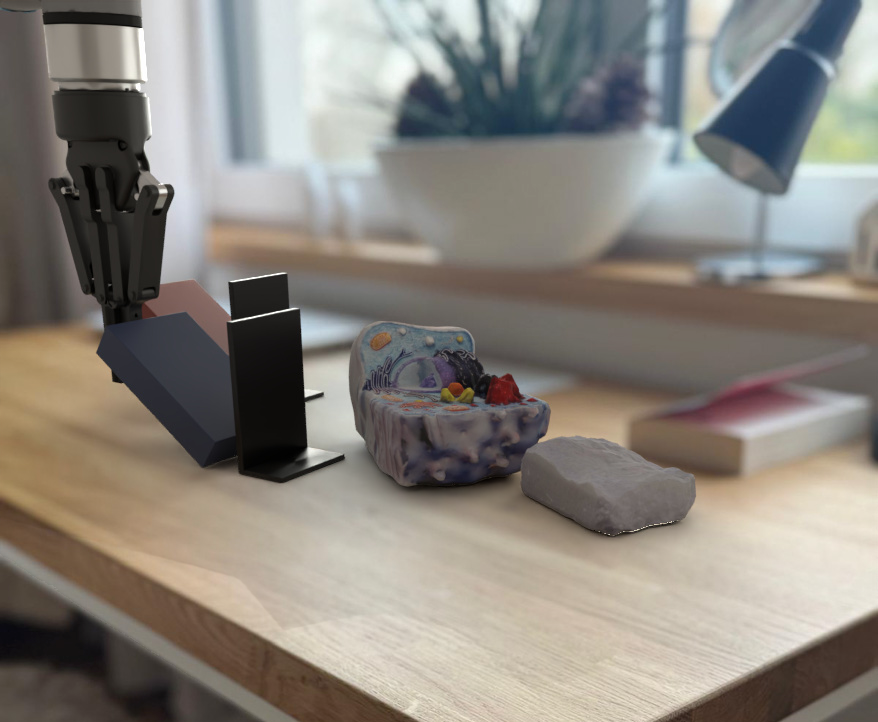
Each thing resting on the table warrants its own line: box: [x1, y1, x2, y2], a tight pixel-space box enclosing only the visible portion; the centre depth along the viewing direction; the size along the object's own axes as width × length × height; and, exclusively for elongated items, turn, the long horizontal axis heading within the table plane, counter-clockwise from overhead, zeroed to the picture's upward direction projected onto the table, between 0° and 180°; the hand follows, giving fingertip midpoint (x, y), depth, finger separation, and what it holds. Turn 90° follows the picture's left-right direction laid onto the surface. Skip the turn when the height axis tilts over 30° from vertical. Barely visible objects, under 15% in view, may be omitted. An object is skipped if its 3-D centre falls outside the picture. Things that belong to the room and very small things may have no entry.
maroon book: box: [142, 278, 231, 356], centre depth 113 cm, size 14×9×3 cm
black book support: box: [227, 307, 346, 484], centre depth 86 cm, size 5×8×12 cm, turn 147°
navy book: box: [95, 311, 237, 469], centre depth 92 cm, size 14×9×3 cm
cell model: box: [348, 320, 552, 488], centre depth 87 cm, size 13×11×20 cm
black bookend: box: [227, 272, 325, 402], centre depth 107 cm, size 5×8×12 cm, turn 147°
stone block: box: [520, 435, 697, 536], centre depth 78 cm, size 12×5×10 cm
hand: (128, 379), depth 96 cm, fingers closed
